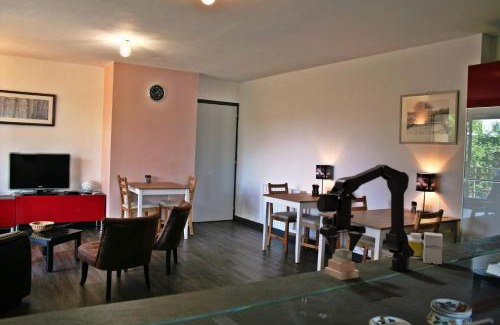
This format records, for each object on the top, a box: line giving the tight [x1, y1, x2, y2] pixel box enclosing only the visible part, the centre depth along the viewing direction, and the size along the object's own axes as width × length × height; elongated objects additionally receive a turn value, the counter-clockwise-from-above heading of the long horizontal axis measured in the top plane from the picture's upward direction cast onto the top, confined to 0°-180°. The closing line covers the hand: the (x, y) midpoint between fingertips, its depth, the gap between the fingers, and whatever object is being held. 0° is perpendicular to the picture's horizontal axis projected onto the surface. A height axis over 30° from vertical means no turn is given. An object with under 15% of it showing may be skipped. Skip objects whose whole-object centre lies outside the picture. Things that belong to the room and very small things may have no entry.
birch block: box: [324, 266, 360, 281], centre depth 158 cm, size 9×9×3 cm
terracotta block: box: [327, 258, 356, 272], centre depth 158 cm, size 7×7×3 cm
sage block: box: [331, 248, 353, 263], centre depth 158 cm, size 5×5×4 cm
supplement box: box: [422, 231, 444, 266], centre depth 183 cm, size 7×7×13 cm
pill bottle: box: [408, 232, 424, 260], centre depth 191 cm, size 6×6×11 cm
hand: (342, 252), depth 158 cm, fingers open, 9 cm apart
